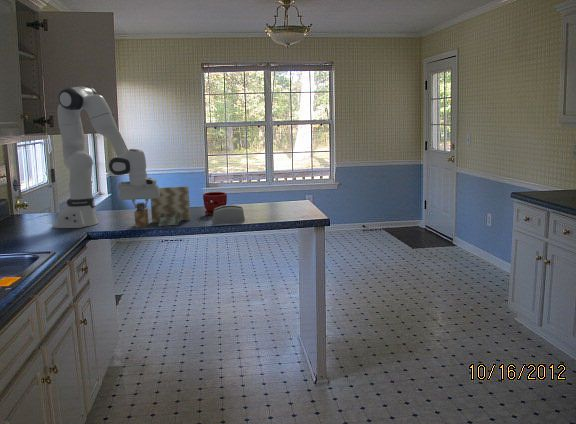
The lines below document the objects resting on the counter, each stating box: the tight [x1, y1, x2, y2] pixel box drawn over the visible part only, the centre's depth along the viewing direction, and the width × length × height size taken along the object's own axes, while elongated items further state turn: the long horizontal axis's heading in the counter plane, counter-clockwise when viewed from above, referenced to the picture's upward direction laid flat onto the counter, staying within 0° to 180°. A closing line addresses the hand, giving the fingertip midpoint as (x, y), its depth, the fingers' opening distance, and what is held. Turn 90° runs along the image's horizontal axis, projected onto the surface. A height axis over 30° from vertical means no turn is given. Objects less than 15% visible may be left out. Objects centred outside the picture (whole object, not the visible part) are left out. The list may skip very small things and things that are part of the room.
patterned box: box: [149, 185, 192, 227], centre depth 287 cm, size 20×16×18 cm
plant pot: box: [202, 191, 228, 217], centre depth 308 cm, size 13×13×12 cm
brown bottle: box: [133, 202, 150, 228], centre depth 285 cm, size 5×10×12 cm, turn 5°
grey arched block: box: [212, 204, 246, 224], centre depth 286 cm, size 17×5×10 cm, turn 102°
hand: (140, 207), depth 284 cm, fingers closed on brown bottle, 3 cm apart
